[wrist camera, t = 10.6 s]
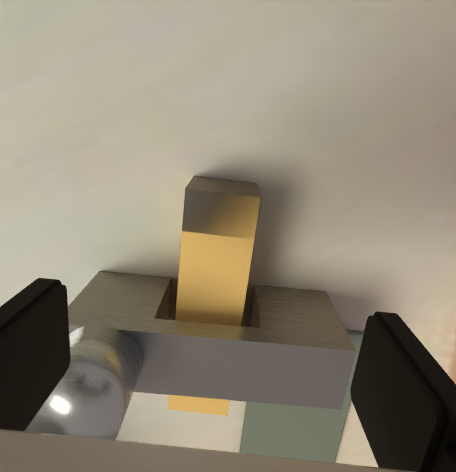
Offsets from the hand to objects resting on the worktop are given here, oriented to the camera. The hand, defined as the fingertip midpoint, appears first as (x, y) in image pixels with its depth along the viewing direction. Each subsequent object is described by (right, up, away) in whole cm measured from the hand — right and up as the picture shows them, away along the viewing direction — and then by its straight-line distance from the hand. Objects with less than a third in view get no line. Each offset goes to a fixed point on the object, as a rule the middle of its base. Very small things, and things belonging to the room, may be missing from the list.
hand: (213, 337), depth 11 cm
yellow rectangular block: (-1, 0, +14) cm, 14 cm away
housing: (-1, -2, +14) cm, 14 cm away
